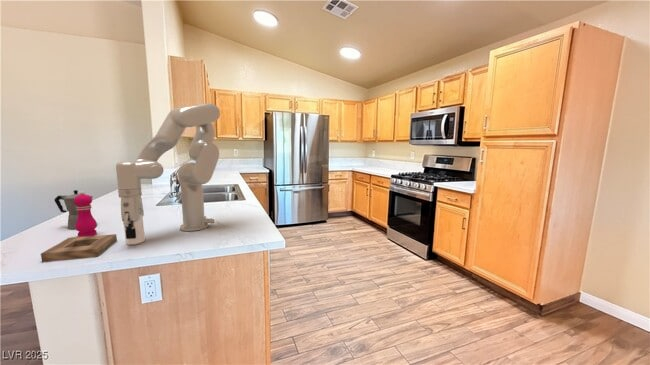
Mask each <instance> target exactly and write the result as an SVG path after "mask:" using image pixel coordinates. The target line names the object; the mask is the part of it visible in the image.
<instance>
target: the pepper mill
mask: <svg viewBox="0 0 650 365" xmlns="http://www.w3.org/2000/svg"><path fill="white" fill-rule="evenodd" d="M78 194H80V195H78V196H76V197H75V198H74V204H75V205H77V207H76V208H77V209H76V210H78V219H77V221H76V224H75V229H74V230H76V231H77V237H86V236H97V235H98V234H97V230H96V229H97V227H98V222H97V221H96V219H95V218H94V217H93V214H92V210H91V209H92V203H93V198H91V196H92V195H90V194H86V193H85V191H83V190H82V191H79V193H78Z"/></svg>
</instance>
